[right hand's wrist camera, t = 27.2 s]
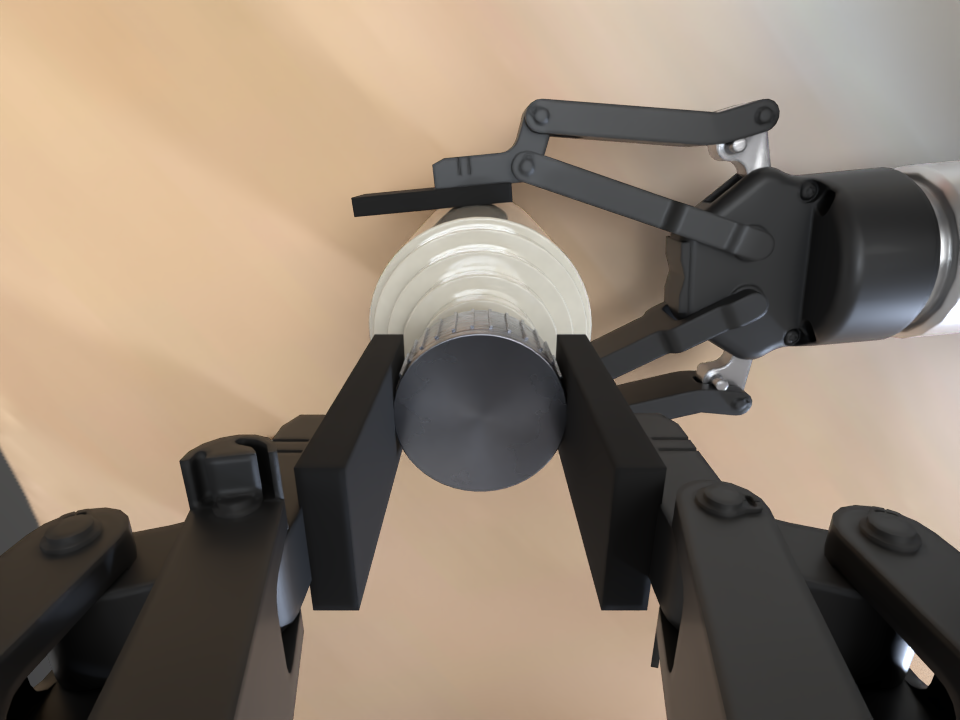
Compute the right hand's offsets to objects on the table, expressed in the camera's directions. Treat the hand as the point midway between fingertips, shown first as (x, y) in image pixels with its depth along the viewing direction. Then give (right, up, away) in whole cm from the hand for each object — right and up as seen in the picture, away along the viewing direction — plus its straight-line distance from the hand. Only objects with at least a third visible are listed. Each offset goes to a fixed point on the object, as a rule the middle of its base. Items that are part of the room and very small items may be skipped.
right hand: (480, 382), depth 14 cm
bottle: (0, +6, +16) cm, 17 cm away
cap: (0, -1, -2) cm, 2 cm away
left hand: (-5, +3, +10) cm, 12 cm away
